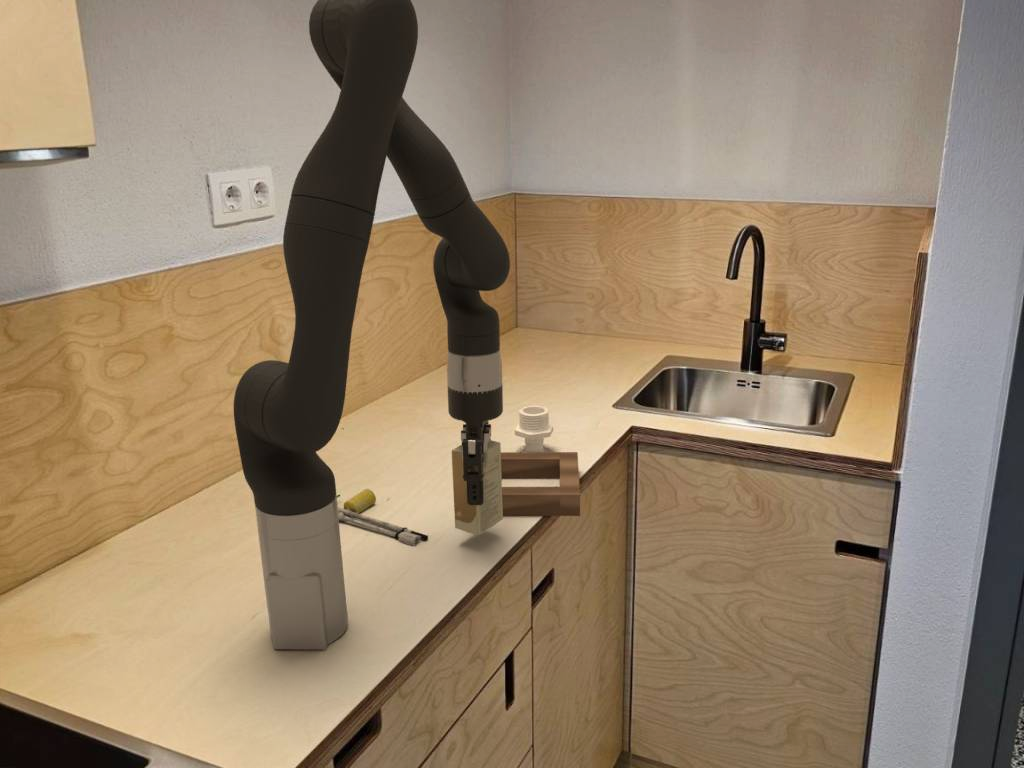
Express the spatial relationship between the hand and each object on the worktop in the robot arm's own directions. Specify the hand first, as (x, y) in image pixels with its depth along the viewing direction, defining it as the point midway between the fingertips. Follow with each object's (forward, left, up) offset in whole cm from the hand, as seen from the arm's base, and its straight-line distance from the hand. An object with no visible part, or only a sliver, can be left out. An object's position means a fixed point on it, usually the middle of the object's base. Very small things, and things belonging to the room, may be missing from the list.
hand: (478, 492), depth 127 cm
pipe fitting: (+33, -7, -8) cm, 35 cm away
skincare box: (0, 0, -5) cm, 5 cm away
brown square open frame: (+16, -6, -7) cm, 19 cm away
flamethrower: (+8, +20, -8) cm, 23 cm away
